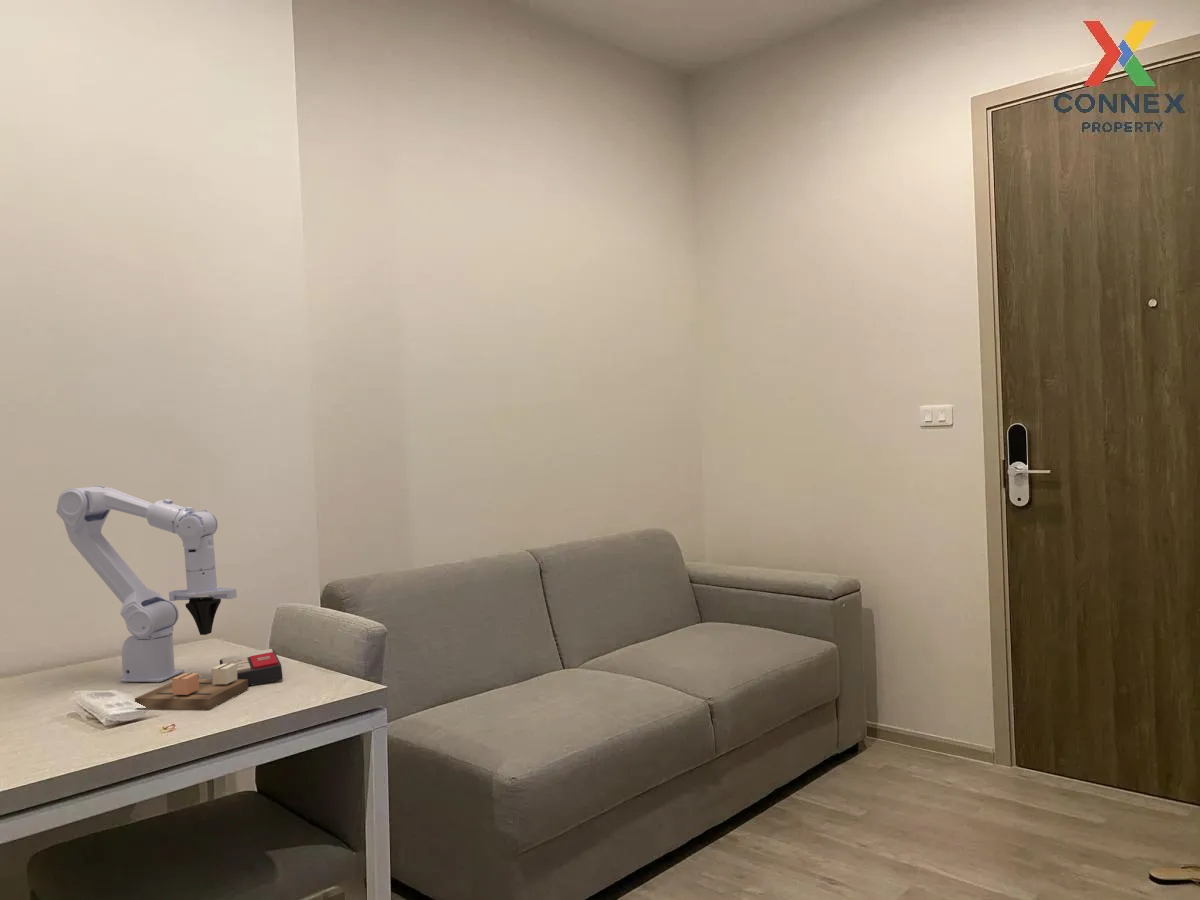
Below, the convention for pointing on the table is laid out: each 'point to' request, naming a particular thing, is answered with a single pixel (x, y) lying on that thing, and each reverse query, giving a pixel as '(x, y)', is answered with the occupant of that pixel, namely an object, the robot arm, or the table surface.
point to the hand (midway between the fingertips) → (205, 633)
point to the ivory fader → (224, 673)
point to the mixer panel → (192, 696)
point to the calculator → (256, 666)
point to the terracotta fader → (185, 683)
